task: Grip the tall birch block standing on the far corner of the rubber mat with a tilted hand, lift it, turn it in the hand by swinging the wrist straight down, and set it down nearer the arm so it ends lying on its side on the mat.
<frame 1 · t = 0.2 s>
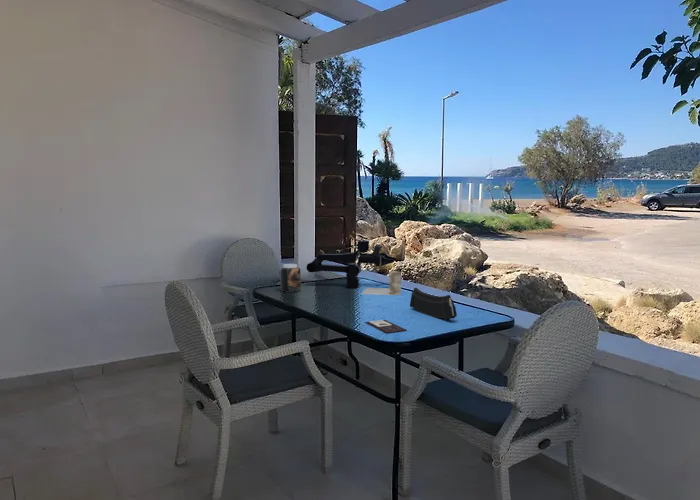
hand: (395, 260, 282), 17 cm above the table, tool horizontal, fingers open, 9 cm apart
rubber mat: (381, 292, 273), on the table
chocolate bar: (385, 328, 201), on the table
birch block: (394, 293, 265), point 1 cm above the table, touching rubber mat
jar: (290, 291, 281), on the table
magazine: (431, 315, 220), on the table
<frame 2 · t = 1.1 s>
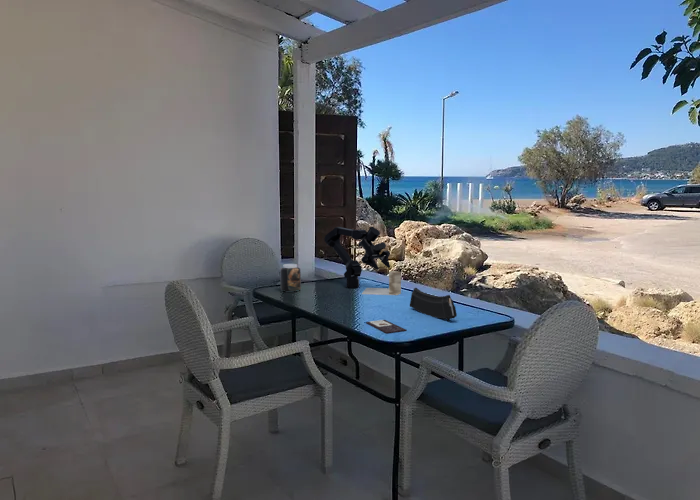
hand: (384, 268, 270), 14 cm above the table, tool tilted 45°, fingers open, 9 cm apart
nothing on the table moved.
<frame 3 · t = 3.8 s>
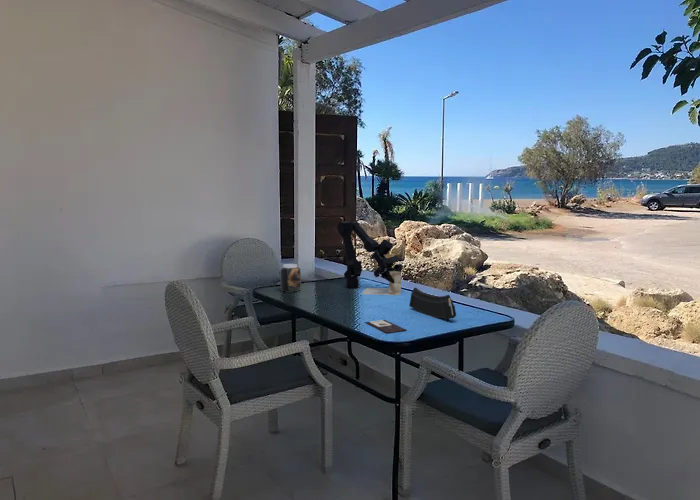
hand: (396, 282, 264), 7 cm above the table, tool tilted 45°, fingers closed on birch block, 4 cm apart
birch block: (394, 293, 265), point 1 cm above the table, touching gripper, rubber mat
everything else where it was.
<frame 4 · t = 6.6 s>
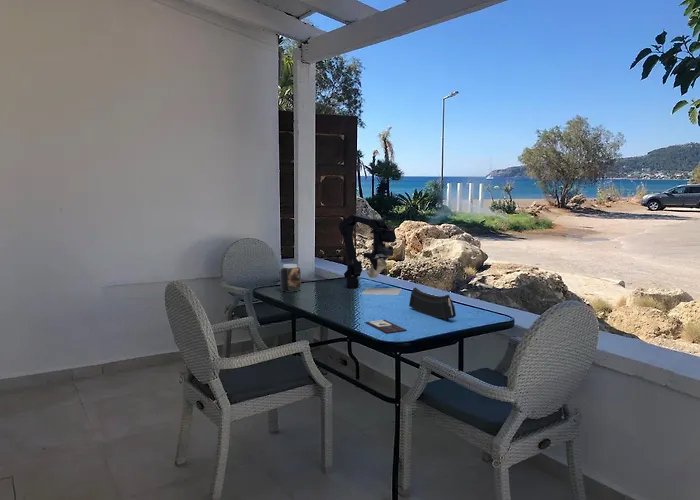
hand: (378, 269, 274), 13 cm above the table, tool pointing down, fingers closed on birch block, 4 cm apart
birch block: (371, 275, 278), point 9 cm above the table, tilted 45°, touching gripper
everything else where it was.
when the fingers open (6 cm above the table, at t = 8.3 s): birch block moves 2 cm and tips over, resting on rubber mat.
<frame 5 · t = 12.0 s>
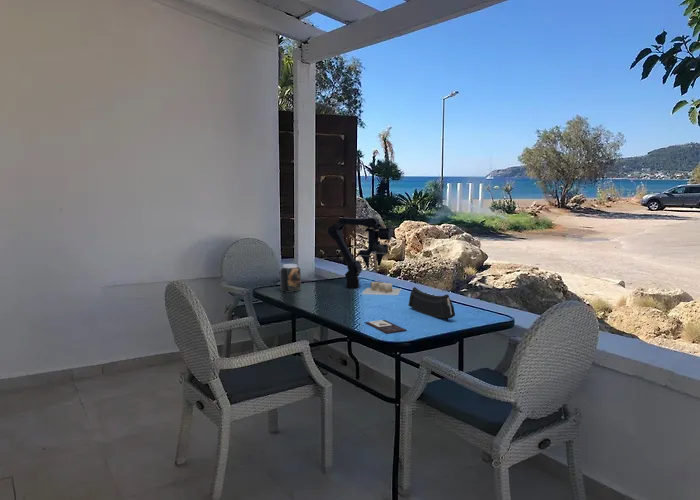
hand: (373, 266, 282), 13 cm above the table, tool pointing down, fingers open, 9 cm apart
birch block: (373, 285, 278), point 3 cm above the table, tilted 90°, touching rubber mat
everything else where it was.
at the end: birch block tilted 90°; birch block touching rubber mat; birch block moved 16.8 cm from its start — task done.
